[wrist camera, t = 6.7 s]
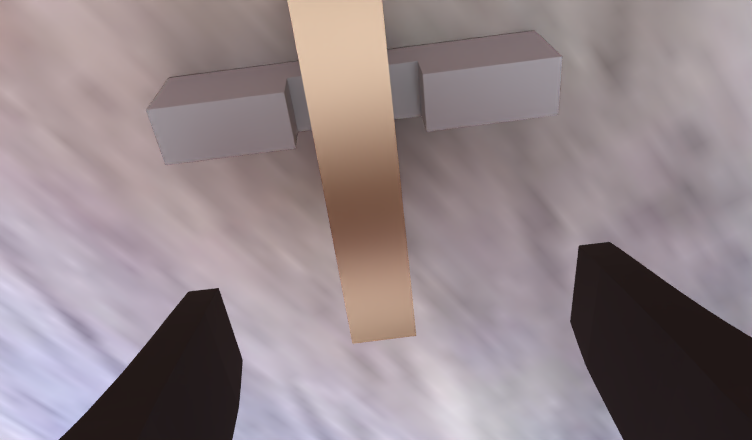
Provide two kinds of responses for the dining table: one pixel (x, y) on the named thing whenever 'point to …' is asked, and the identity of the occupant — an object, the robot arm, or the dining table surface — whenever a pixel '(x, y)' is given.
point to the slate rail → (408, 88)
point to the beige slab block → (357, 159)
